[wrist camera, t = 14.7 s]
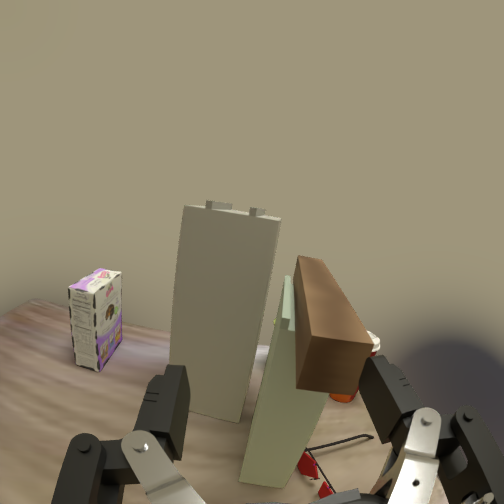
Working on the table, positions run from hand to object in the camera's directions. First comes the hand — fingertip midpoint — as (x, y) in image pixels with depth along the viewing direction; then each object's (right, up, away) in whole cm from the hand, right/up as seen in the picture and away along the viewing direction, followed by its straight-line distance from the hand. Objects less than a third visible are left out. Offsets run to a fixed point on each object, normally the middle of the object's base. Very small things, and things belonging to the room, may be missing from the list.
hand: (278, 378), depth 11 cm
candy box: (-33, -16, +37) cm, 52 cm away
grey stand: (-8, -20, +33) cm, 40 cm away
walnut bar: (+5, -1, +15) cm, 16 cm away
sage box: (+1, -24, +22) cm, 32 cm away
